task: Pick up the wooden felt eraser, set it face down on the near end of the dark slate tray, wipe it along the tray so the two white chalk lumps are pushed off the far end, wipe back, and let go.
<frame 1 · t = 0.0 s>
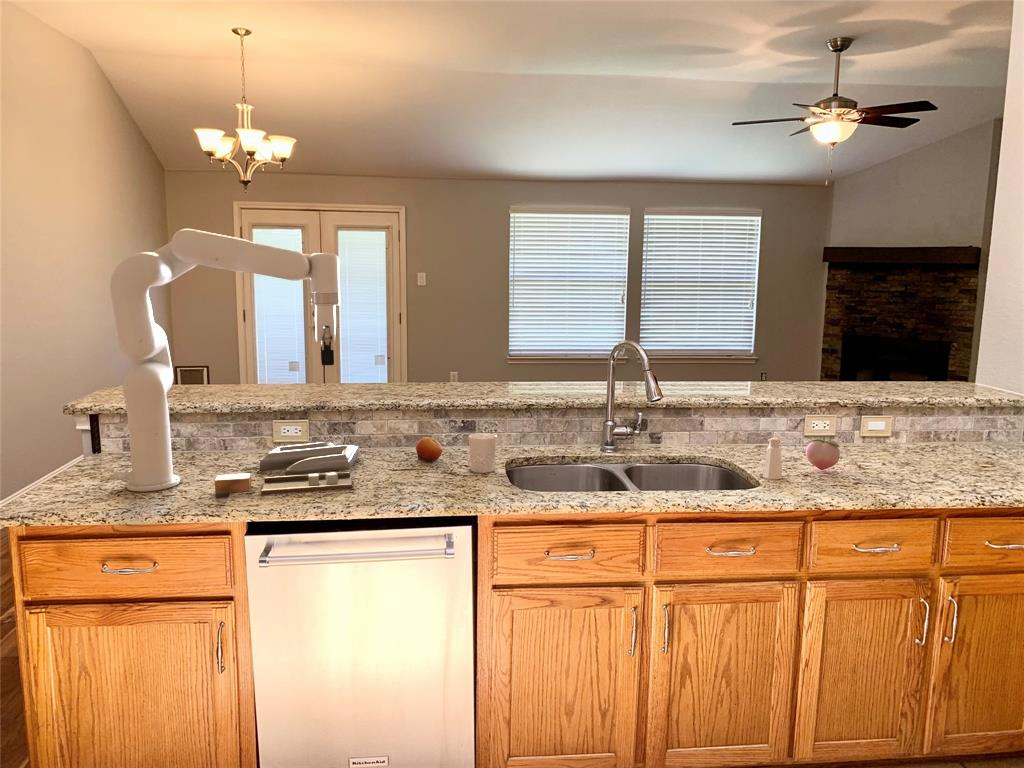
hand: (327, 362, 191), 31 cm above the worktop, tool pointing down, fingers open, 9 cm apart
decorative fruit: (821, 470, 205), on the worktop
fruit: (429, 461, 211), on the worktop
slate tray: (308, 488, 181), on the worktop
pepper shaker: (772, 477, 197), on the worktop
chalk lump 2: (331, 482, 183), point 1 cm above the worktop, touching slate tray
eraser: (233, 494, 176), on the worktop
chalk lump 1: (313, 484, 182), point 1 cm above the worktop, touching slate tray
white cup: (482, 470, 201), on the worktop
emblem: (312, 467, 203), on the worktop
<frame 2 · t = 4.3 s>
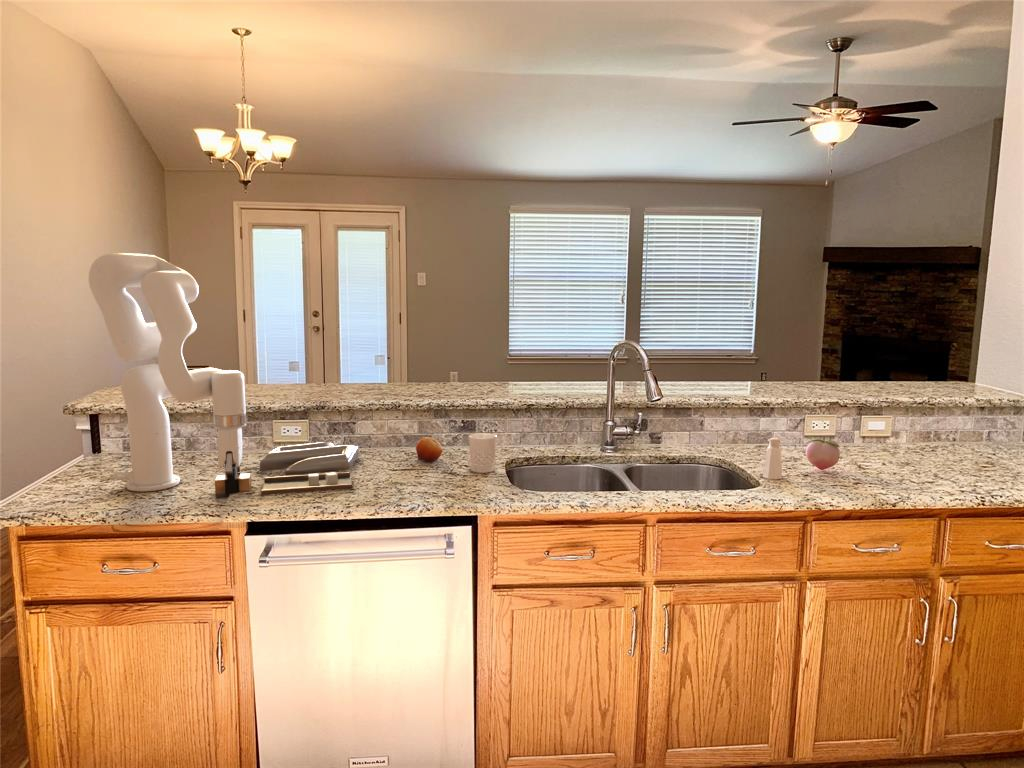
hand: (233, 490, 176), 1 cm above the worktop, tool pointing down, fingers closed on eraser, 4 cm apart
eraser: (233, 494, 176), on the worktop, touching gripper
everything else where it was.
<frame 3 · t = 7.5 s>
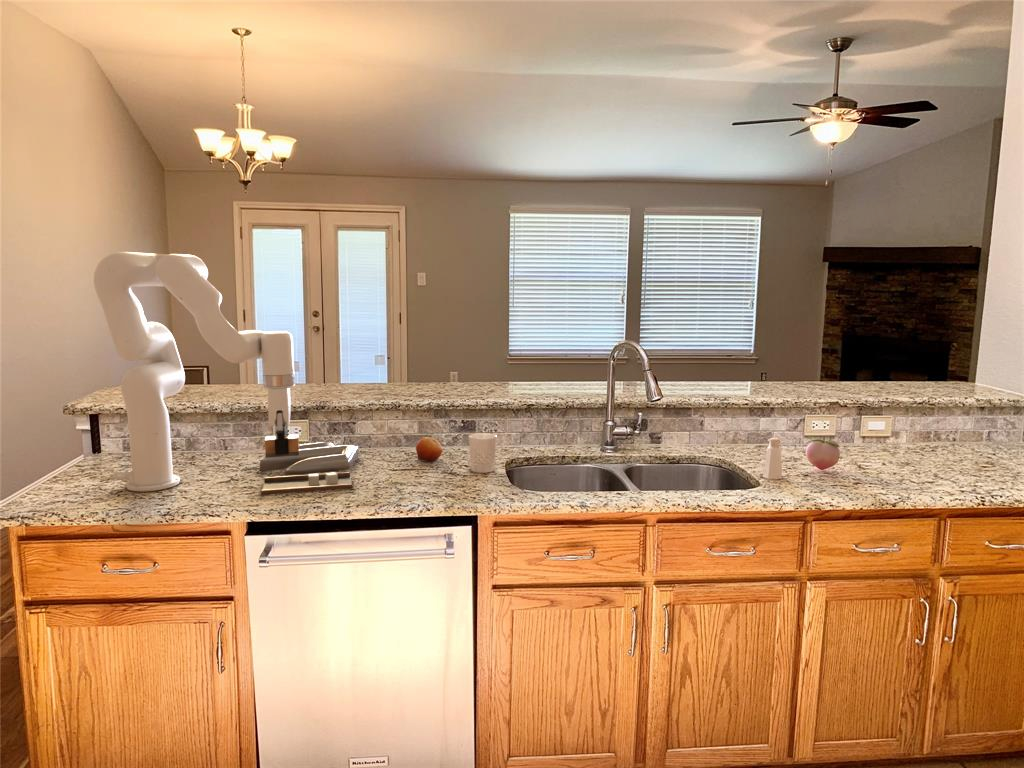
hand: (282, 451, 178), 10 cm above the worktop, tool pointing down, fingers closed on eraser, 4 cm apart
eraser: (282, 454, 178), point 10 cm above the worktop, touching gripper
everything else where it was.
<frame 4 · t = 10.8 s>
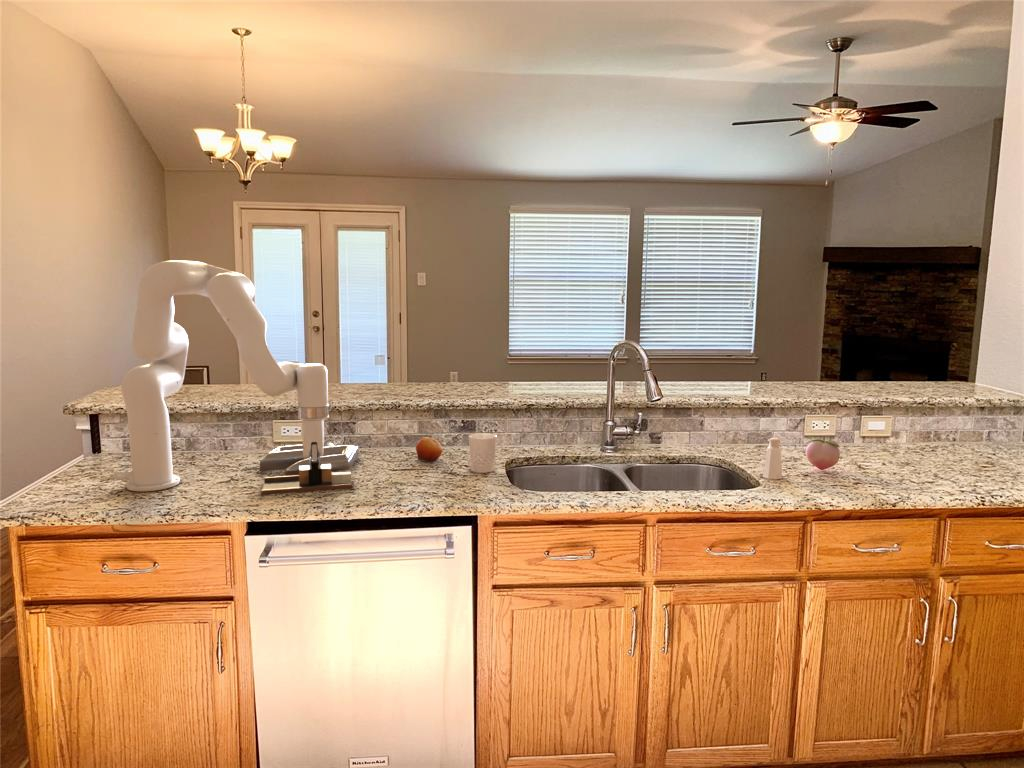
hand: (315, 480, 182), 2 cm above the worktop, tool pointing down, fingers closed on eraser, 4 cm apart
chalk lump 2: (346, 482, 183), point 1 cm above the worktop, touching chalk lump 1, slate tray
eraser: (315, 483, 182), point 1 cm above the worktop, touching gripper
chalk lump 1: (336, 482, 183), point 1 cm above the worktop, touching chalk lump 2
everything else where it was.
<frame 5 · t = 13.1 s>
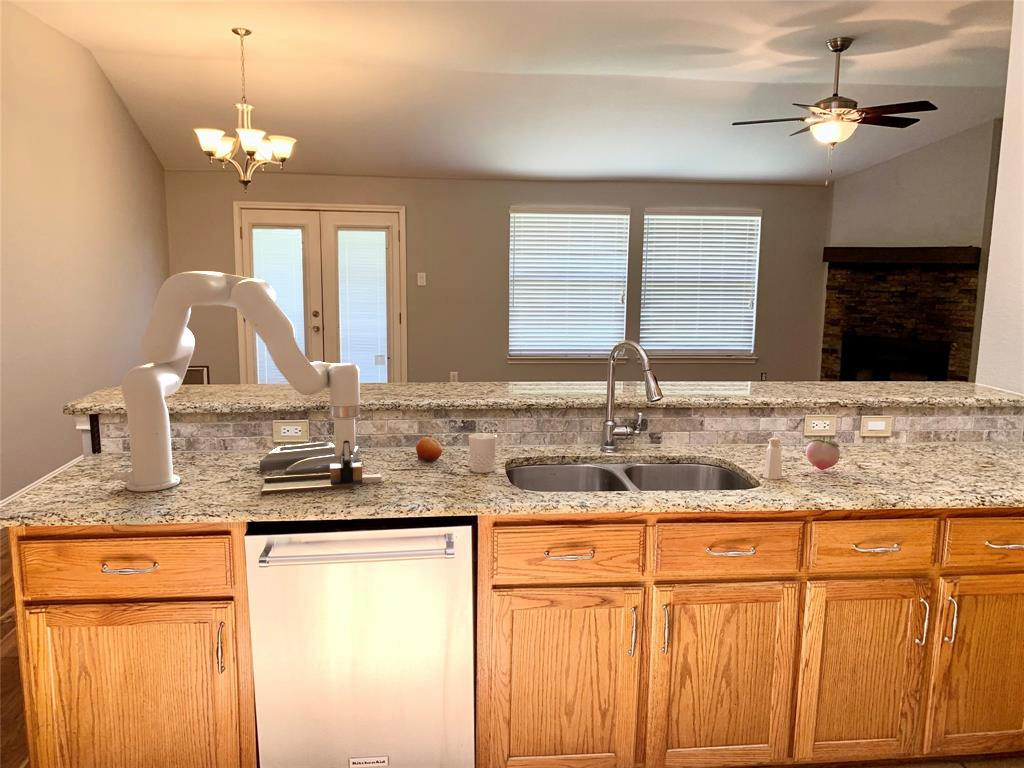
hand: (346, 478, 184), 2 cm above the worktop, tool pointing down, fingers closed on eraser, 4 cm apart
chalk lump 2: (371, 480, 185), point 1 cm above the worktop, tilted 90°, touching chalk lump 1
eraser: (346, 481, 184), point 1 cm above the worktop, touching chalk lump 1, gripper, slate tray
chalk lump 1: (366, 485, 185), on the worktop, touching chalk lump 2, eraser
everything else where it was.
when the fingers open (2 cm above the worktop, at t = 16.2 s): eraser stays where it is, resting on slate tray.
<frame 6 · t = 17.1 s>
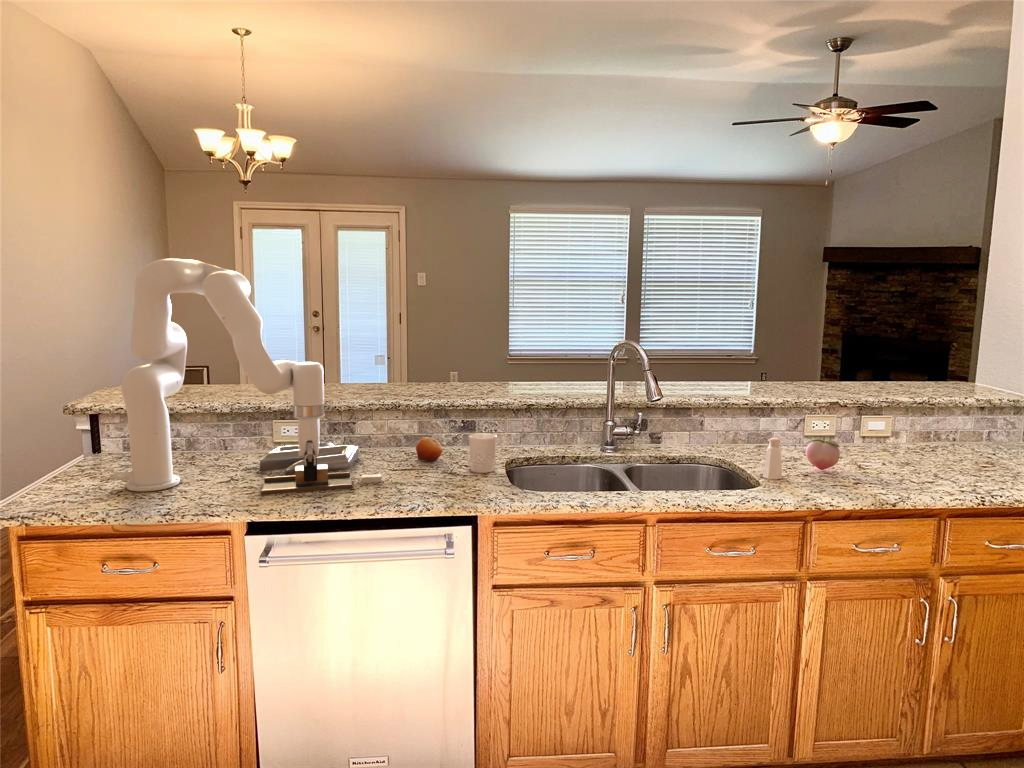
hand: (310, 475, 181), 3 cm above the worktop, tool pointing down, fingers open, 9 cm apart
chalk lump 2: (371, 480, 185), point 1 cm above the worktop, tilted 90°
eraser: (312, 484, 181), point 1 cm above the worktop, touching slate tray
chalk lump 1: (366, 485, 185), on the worktop
everything else where it was.
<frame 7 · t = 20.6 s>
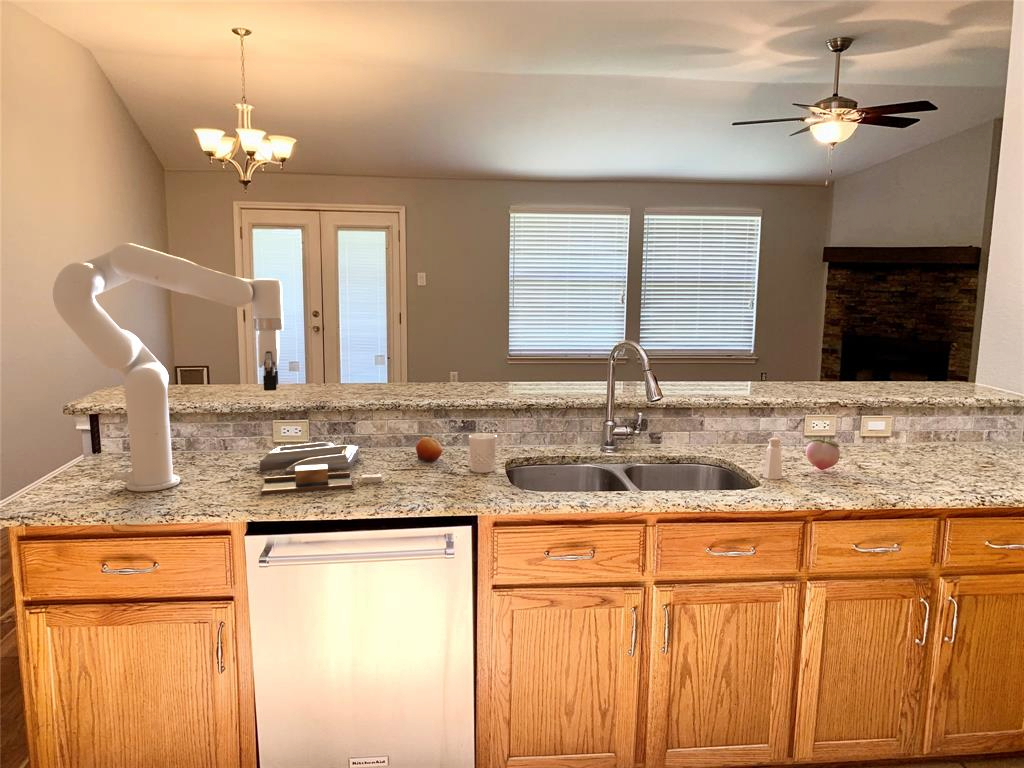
hand: (271, 387, 191), 24 cm above the worktop, tool pointing down, fingers open, 9 cm apart
nothing on the worktop moved.
at the end: chalk lump 1 touching worktop; chalk lump 2 touching worktop; eraser inside the target area (0.4 cm from its centre), point 1.2 cm above the worktop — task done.
